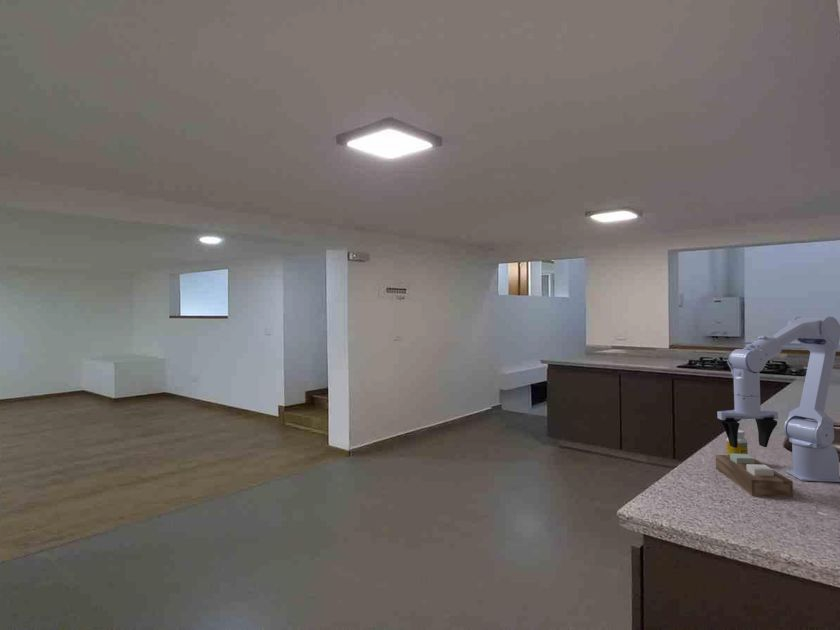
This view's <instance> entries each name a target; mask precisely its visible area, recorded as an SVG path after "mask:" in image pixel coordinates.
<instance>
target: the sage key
mask: <svg viewBox="0 0 840 630" xmlns="http://www.w3.org/2000/svg"><path fill="white" fill-rule="evenodd" d="M755 459H756V458H755V457H753V456H752V455H749V453H748V454H730V460H731V461H733V462H734V463H736V464H755Z"/></svg>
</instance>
